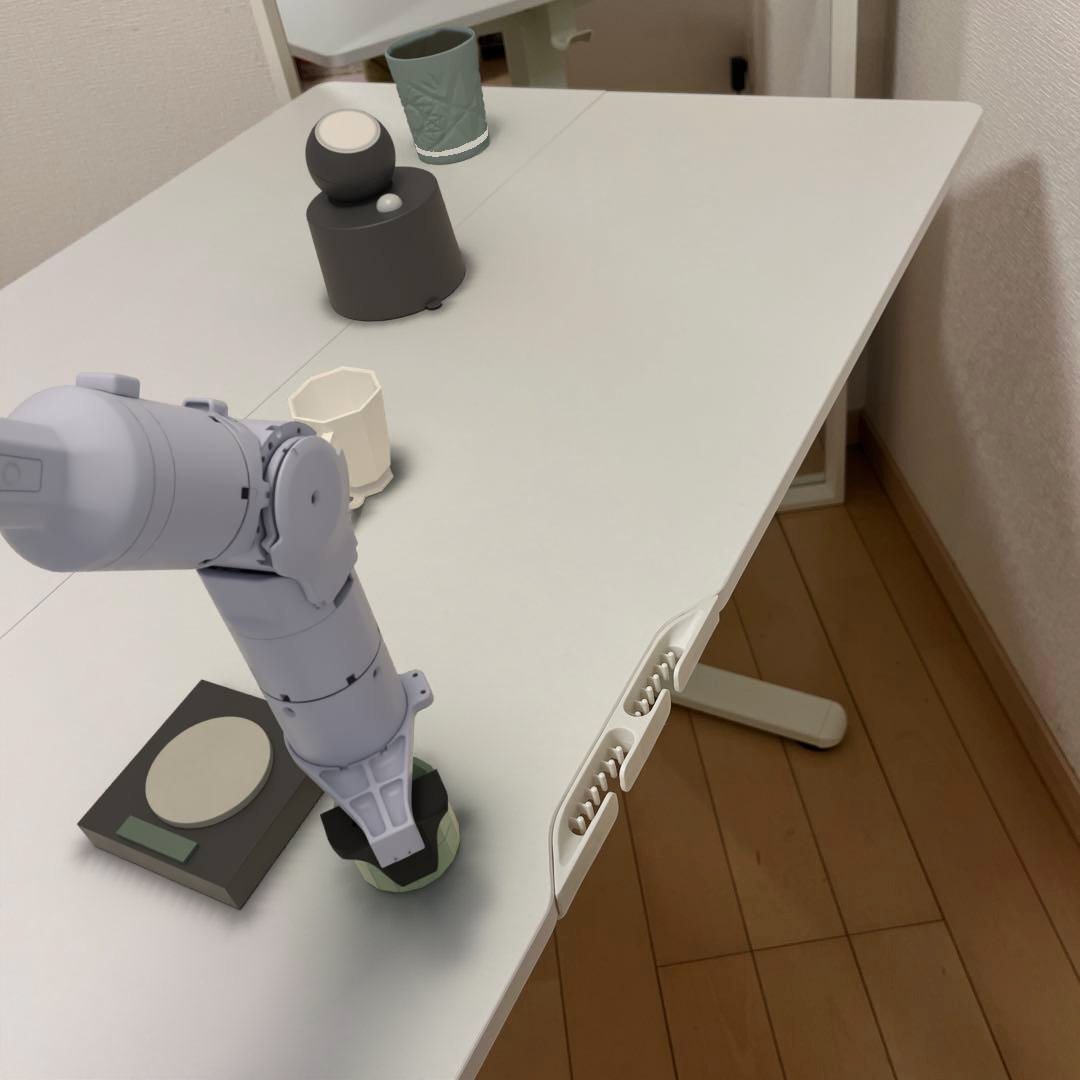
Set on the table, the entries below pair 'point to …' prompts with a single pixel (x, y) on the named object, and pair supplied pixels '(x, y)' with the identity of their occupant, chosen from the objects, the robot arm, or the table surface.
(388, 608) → the table surface
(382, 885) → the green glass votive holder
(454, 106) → the green embossed plant pot
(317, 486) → the robot arm
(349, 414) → the cup
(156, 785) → the scale
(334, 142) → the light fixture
